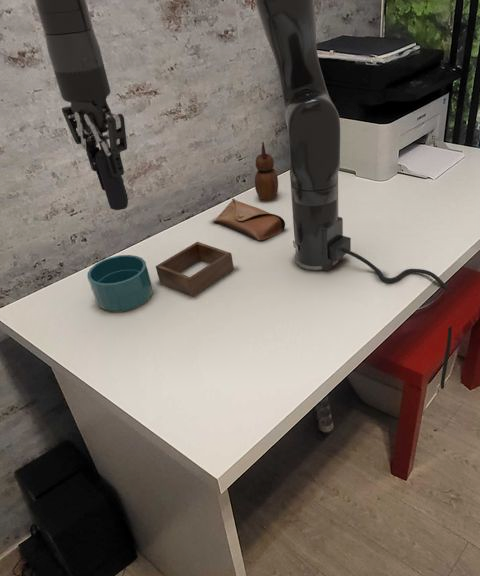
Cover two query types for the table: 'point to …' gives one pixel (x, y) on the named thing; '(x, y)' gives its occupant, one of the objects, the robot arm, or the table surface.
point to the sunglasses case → (251, 220)
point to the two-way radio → (109, 181)
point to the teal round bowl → (120, 283)
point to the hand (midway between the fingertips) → (108, 172)
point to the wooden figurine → (265, 176)
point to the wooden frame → (200, 280)
